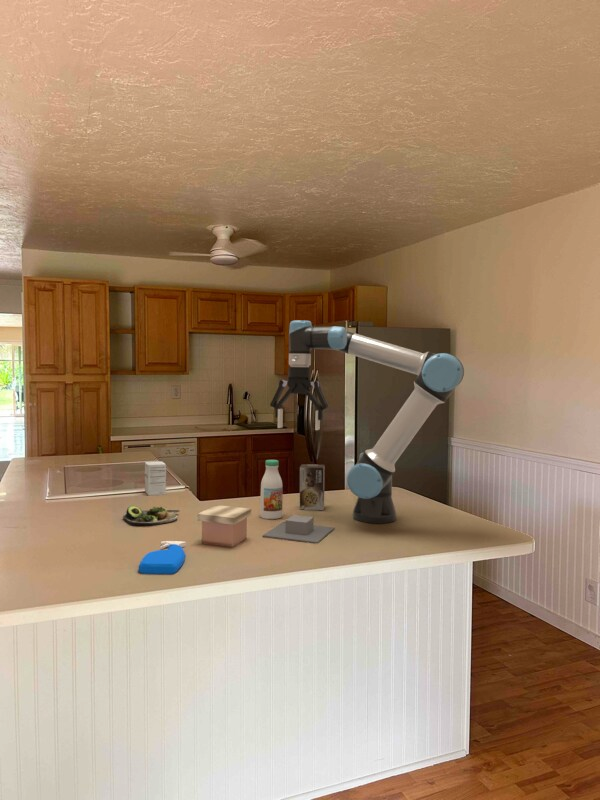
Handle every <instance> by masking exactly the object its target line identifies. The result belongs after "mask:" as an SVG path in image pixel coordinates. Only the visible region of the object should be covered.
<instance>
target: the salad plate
mask: <svg viewBox="0 0 600 800" xmlns="http://www.w3.org/2000/svg"><path fill="white" fill-rule="evenodd" d="M167 508H168V507H167V506H165V507H162V506H159V507H158V506H157V507H156V506H153V507H152V508H149V510H148V509H147V510H142V509H141V508H140V507H138V506H137V505H129V506H128V507H127V508H126V509H127V510H126V511H125V513H124V514H123V515H122V517H123V520H124V521H125V522H126V523H127V525H128V524H129V525H131V526H135V527H151V526H157V525H163V524H168V523H172V522H174V521H176V520H177V519H179V516H178V515H176V514H177V513H179V512H180V510H179V509H167Z"/></svg>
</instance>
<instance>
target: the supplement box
mask: <svg viewBox="0 0 600 800" xmlns="http://www.w3.org/2000/svg"><path fill="white" fill-rule="evenodd" d="M144 493H146V495H148V496H161V495H166V494H167V464H166V463H165V462H164V461H162V460H161V461H160V460H159V461H158V460H156V461H145V462H144Z"/></svg>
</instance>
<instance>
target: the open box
mask: <svg viewBox="0 0 600 800" xmlns="http://www.w3.org/2000/svg"><path fill="white" fill-rule="evenodd" d="M247 526H248V517H247V518H245V519H244V520H242V521H240V522H238V523H236V524H234V525H232V524H224V523H215V522H206V521H201V544H205V545H213V546H222V547H228V548H233V547H236V545H238V544H239V543H241V542H243V541H244V540H246V539H247V536H248V535H247V532H248V527H247Z"/></svg>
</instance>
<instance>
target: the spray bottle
mask: <svg viewBox="0 0 600 800" xmlns="http://www.w3.org/2000/svg"><path fill="white" fill-rule="evenodd" d="M160 545H161V546H159V550H153V551H149V552H147V553H146V554H145V555H144V557H142V559H141V560H140V562H139V565H138V571H139V573H141V574H143V575H144V574H146V575H147V574H148V575H149V574H150V575H174V574H175V573H176V572H177V571H179V569H180V568H181V567H182V565H183V564H184V562H185V559H186V553H185V550H184V549H183V548H184V547H187V542H186V541H179V540H178V541H176V540H165V541H163V540H162V541H161V542H160ZM163 548H167V549H163Z"/></svg>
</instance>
